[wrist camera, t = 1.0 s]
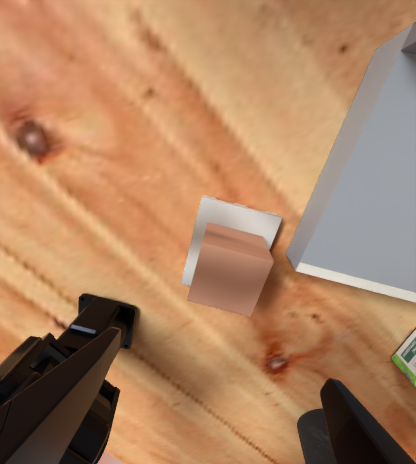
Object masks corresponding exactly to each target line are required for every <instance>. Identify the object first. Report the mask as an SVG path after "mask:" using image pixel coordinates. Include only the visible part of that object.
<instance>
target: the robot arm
mask: <svg viewBox="0 0 416 464" xmlns="http://www.w3.org/2000/svg"><path fill="white" fill-rule="evenodd" d="M84 298H85V299H84ZM131 310H132V311H131ZM136 312H137V309H136V307H134V306H132V305H128V304H124V303H120V302H116V301H112V300H108V299H104V298H101V297H97V296H93V295H89V294H82V295H81V296H80V297H79V310H78V316H77V317H76V318H75V320H74V321H73V322H72V323H71V324H70V325H69V327H68V328H67V329H66V330H65V331H64V332H63V333H62V335H61V336H60V337H59V338H58V339H57V340H56V339H55V338H54V336H53V335H52V334H51V333H48V334H47V335H45V336H44V337H43V338H40V337H33V336H30V337H29V338H27V339H26V340H25V341H24V342H23V343H22V344H21V345H20V346H19V347H17V348H16V349H15V350H14V351H13V352H12V353H11V354H10V355H9V356H8V357H7V358H6V359H5V360H4V361H3V362H2V363H1V364H0V464H97V463H98V461H99V460H100V458H101V456H102V454H103V452H104V450H105V447H106V445H107V442H108V439H109V435H110V431H111V427H112V423H113V418H114V414H115V410H116V406H117V402H118V398H119V394H120V389H118V388H117V387H114V386H113V385H111V384H110V383H109V382H108V381H107V380H105V377H106V375H107V372H108V370H109V368H110V366H111V364H112V362H113V360H114V358H115V357H116V355H117V353H118V351H119V349H120V348H124V349H129V348H130V346H131V344H132V338H133V331H134V325H135V318H136ZM320 396H321V401H322V406H323V410H324V415H325V420H326V424H327V429H328V434H329V438H330V442H331V446H332V449H333V453H334V456H335V459H336V463H337V464H416V463H415V462H414V461H413V459H412V458H411V457H410V456H409V455H408V454H407V453H406V452H405V451H404V450H403V449H402V448H401V446H400V445H399V444H398V443H397V442H396V441H395V440H394V439H393V438H392V437H391V436H390V434H389V433H388V432H387V431H386V430H385V429H384V428H383V427H382V426H381V425H380V424H379V423H378V421H377V420H376V419H375V418H374V417H373V416H372V415H371V414H370V413H369V412H368V411H367V409H366V408H365V407H364V406H363V405H362V404H361V403H360V402H359V401H358V400H357V399H356V398H355V396H354V395H353V394H352V393H351V392H350V391H349V390H348V389H347V388H346V387H345V386H344V384H343V383H342V382H341V381H339V380H336V379H332V378H329V379H328V380H327V381H326V383H325V384H324V386H323V387H322V389H321V391H320Z"/></svg>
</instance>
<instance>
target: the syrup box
mask: <svg viewBox="0 0 416 464" xmlns="http://www.w3.org/2000/svg"><path fill="white" fill-rule="evenodd" d="M392 360H393V362H394V363H395V364H396V365H397V366H398V367H399V369H400V370H401V371H402V372H403V374H404V375H405V376H406V377H407V378H408V380H409V381H410V382H411V383H412V384H413V386H414V387H415V388H416V329H415V331H414V332H413V333H412V334H411V335H410V336H409V337H408V339H407V340H406V341H405V342H404V344H403V345H402V346H401V347H400V348H399V350H398V351H397V352H396V353H395V354H394V355H393V356H392Z"/></svg>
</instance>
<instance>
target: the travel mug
mask: <svg viewBox="0 0 416 464" xmlns="http://www.w3.org/2000/svg"><path fill="white" fill-rule="evenodd" d="M297 428H298V433H299V438H300V442H301V446H302V451H303V455H304V459H305V463H306V464H337V463H336V459H335V456H334V453H333V449H332V446H331V442H330V438H329V434H328V429H327V424H326V420H325V415H324V410H323V409H317V410H313V411H310V412H307V413H305V414H304V415H302V416H301V417H300V419H299V420H298V423H297Z"/></svg>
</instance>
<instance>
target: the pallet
mask: <svg viewBox="0 0 416 464" xmlns="http://www.w3.org/2000/svg"><path fill="white" fill-rule="evenodd" d="M281 220H282V217H281V216H279V215H278V214H275V213H272V212H268V211H265V212H263V211H259V210H255V209H251V208H248V206H245V205H241V204H238V203H234V204H232V203H229V202H225V201H221V200H217V198H215V197H211V196H208V195H204V196H202V198H201V203H200V207H199V211H198V215H197V219H196V223H195V228H194V232H193V236H192V240H191V244H190V248H189V252H188V257H187V261H186V265H185V269H184V273H183V277H182V282H181V284H184V285H188V286H191V287H190V290H189V294H188V298H187V301H190V302H194V303H198V304H202V305H206V306H209V307H213V308H217V309H221V310H225V311H229V312H233V313H237V314H240V315H244V316H248V317H251V315H252V312H253V310H254V307H255V305H256V303H257V300H258V298H259V296H260V293H261V291H262V289H263V286H264V284H265V281H266V279H267V277H268V274H269V272H270V270H271V267H272V265H273V263H274V260H273V258H272V256H271V254H270V251H269V250H270V247H271V245H272V242H273V240H274V237H275V235H276V232H277V230H278V227H279V225H280V222H281Z"/></svg>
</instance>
